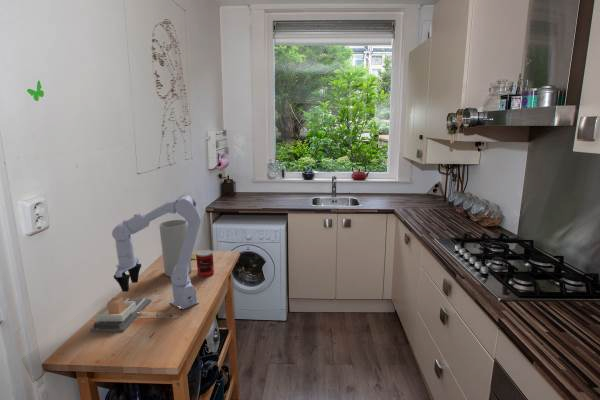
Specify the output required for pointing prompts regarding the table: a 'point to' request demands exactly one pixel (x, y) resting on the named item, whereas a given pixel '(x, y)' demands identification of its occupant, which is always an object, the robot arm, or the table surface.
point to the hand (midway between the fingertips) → (130, 286)
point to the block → (116, 306)
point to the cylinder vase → (172, 243)
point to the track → (122, 326)
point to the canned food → (205, 263)
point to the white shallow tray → (105, 316)
